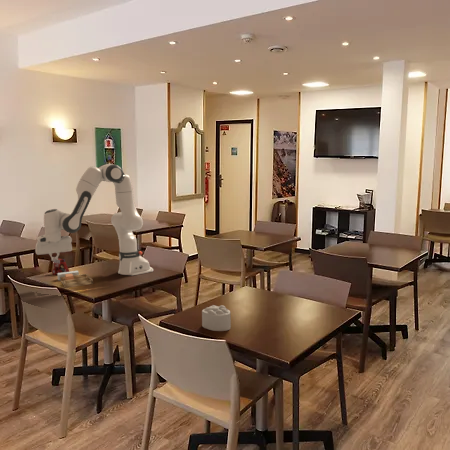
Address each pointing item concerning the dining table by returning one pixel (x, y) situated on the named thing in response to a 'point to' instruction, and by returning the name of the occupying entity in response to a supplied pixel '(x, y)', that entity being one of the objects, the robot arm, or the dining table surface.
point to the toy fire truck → (59, 266)
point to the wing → (69, 276)
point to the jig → (77, 280)
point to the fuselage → (66, 273)
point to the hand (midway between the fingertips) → (54, 260)
